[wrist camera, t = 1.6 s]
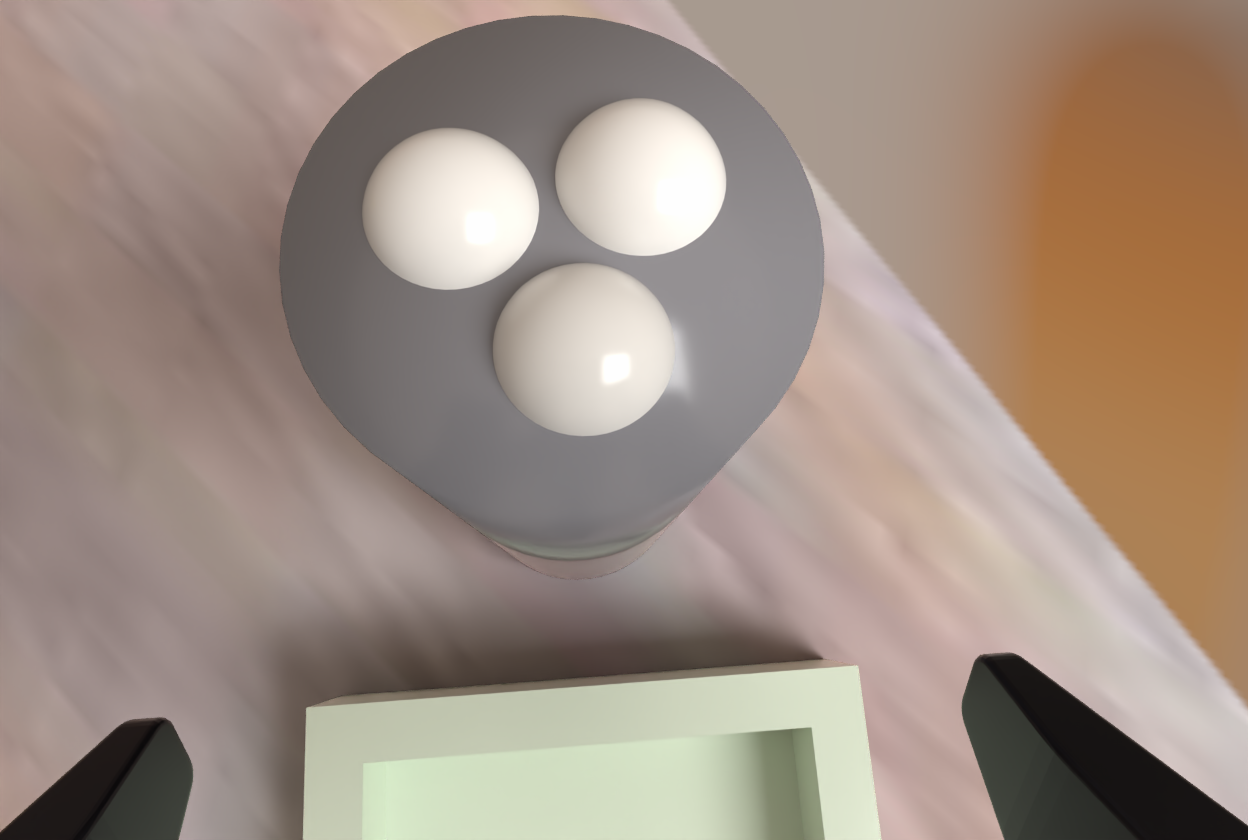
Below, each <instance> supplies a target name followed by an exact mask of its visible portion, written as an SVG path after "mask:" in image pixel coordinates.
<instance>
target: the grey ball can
mask: <svg viewBox="0 0 1248 840" xmlns="http://www.w3.org/2000/svg"><path fill="white" fill-rule="evenodd" d="M279 272H280V282H281V293H282V304H283V308H284V312H285V316H286V320H287V324H288V328H289V332H290V336H291V339H292V341H293V344H294V346H295V349H296V351H297V354H298V356H299V359H300V361H301V363H302V366H303V368H304V370H305V372H306V374H307V375H308V377H309V379H310V380H311V382H312V384H313V385H314V387H315V389H316V391H317V392H318V394H319V396H320V397H321V399H322V400H323V401H324V403H325V404H326V405H327V406H328V408H329V409H330V410H331V411H332V413H333V414H334V415H335V416H336V418H337V419H338V420H339V421H340V423H341V424H342V425H343V426H344V428H346V429H347V430H348V431H349V432H350V433H351V434H352V435H353V436H354V437H355V438H356V439H357V440H358V441H359V442H360V443H362V444H363V445H364V446H365V447H366V448H367V449H368V450H369V451H370V452H371V453H373V454H374V455H375V456H377V457H378V458H379V459H381V460H382V461H384V462H385V463H386V464H388V465H389V466H390V467H392V468H393V469H394V470H396V471H397V472H398V473H400V474H401V475H403V476H404V477H405V478H407V479H408V480H409V481H411V482H412V483H413V484H415V485H416V486H418V487H419V488H420V489H422V490H423V491H424V492H426V493H427V494H428V495H430V496H431V497H432V498H434V499H435V500H437V501H438V502H439V503H441V504H442V505H443V506H445V507H446V508H447V509H449V510H450V511H452V512H453V513H454V514H456V515H457V516H458V517H460V518H461V519H462V520H464V521H465V522H467V523H468V524H469V525H471V526H472V527H473V528H475V529H476V530H477V531H479V532H480V533H481V534H483V535H484V536H486V537H487V538H488V539H490V540H491V541H492V542H494V543H495V544H496V545H498V546H499V547H501V548H502V549H503V550H505V551H506V552H507V553H509V554H510V555H511V556H513V557H514V558H516V559H517V560H518V561H520V562H521V563H523V564H524V565H526V566H528V567H529V568H531V569H533V570H535V571H537V572H540V573H543V574H546V575H548V576H552V577H557V578H562V579H573V580H578V579H591V578H596V577H602V576H605V575H608V574H611V573H614V572H616V571H618V570H620V569H622V568H624V567H626V566H628V565H629V564H631V563H632V562H634V561H635V560H637V559H638V558H639V557H640V556H642V555H643V554H644V553H645V552H646V551H647V550H648V549H649V548H650V547H651V546H652V545H653V544H654V542H655V541H656V540H657V539H658V538H659V537H660V536H661V535H662V534H663V533H664V531H665V530H666V529H667V528H668V527H669V526H670V525H671V524H672V523H673V521H674V520H675V519H676V518H677V517H678V516H679V515H680V514H681V513H682V512H683V510H684V509H685V508H686V507H687V506H688V505H689V504H690V503H691V502H692V501H693V499H694V498H695V497H696V496H697V495H698V494H699V493H700V492H701V491H702V489H703V488H704V487H705V486H706V485H707V484H708V483H709V482H710V481H711V480H712V478H713V477H714V476H715V475H716V474H717V473H718V472H719V471H720V470H721V468H722V467H723V466H724V465H725V464H726V463H727V462H728V461H729V460H730V459H731V457H732V456H733V455H734V454H735V453H736V452H737V451H738V450H739V449H740V447H741V446H742V445H743V444H744V443H745V442H746V441H747V440H748V439H749V438H750V436H751V435H752V434H753V433H754V432H755V431H756V430H757V429H758V427H759V426H760V425H761V424H762V423H763V422H764V421H765V419H766V418H767V417H768V416H769V415H770V414H771V413H772V411H773V410H774V409H775V408H776V406H777V405H778V403H779V402H780V400H781V399H782V397H783V396H784V394H785V393H786V391H787V390H788V388H789V387H790V385H791V384H792V382H793V381H794V379H795V377H796V375H797V373H798V371H799V368H800V366H801V364H802V362H803V360H804V358H805V356H806V354H807V351H808V349H809V346H810V343H811V340H812V337H813V333H814V330H815V327H816V324H817V320H818V317H819V311H820V305H821V299H822V292H823V286H824V246H823V239H822V231H821V223H820V218H819V214H818V210H817V207H816V203H815V199H814V196H813V192H812V189H811V186H810V184H809V182H808V179H807V177H806V174H805V172H804V170H803V167H802V165H801V163H800V160H799V159H798V157H797V155H796V153H795V152H794V150H793V148H792V147H791V145H790V143H789V142H788V140H787V138H786V136H785V135H784V133H783V132H782V130H781V129H780V128H779V127H778V125H777V124H776V123H775V121H774V120H773V119H772V118H771V116H770V115H769V114H768V112H767V111H766V110H765V109H764V107H763V106H762V105H761V104H760V103H759V102H758V101H757V100H756V99H755V98H754V97H753V96H752V95H751V94H750V93H749V92H748V91H747V90H746V89H745V88H744V87H743V86H742V85H740V84H739V83H738V82H737V81H735V80H734V79H733V78H731V77H730V76H729V75H728V74H726V73H725V72H724V71H723V70H721V69H720V68H719V67H717V66H716V65H715V64H713V63H711V62H710V61H708V60H706V59H705V58H703V57H701V56H700V55H698V54H696V53H695V52H693V51H691V50H690V49H688V48H686V47H684V46H681V45H679V44H677V43H675V42H673V41H671V40H668V39H666V38H664V37H662V36H660V35H657V34H654V33H651V32H648V31H645V30H642V29H638V28H635V27H632V26H629V25H625V24H620V23H615V22H611V21H606V20H601V19H596V18H585V17H575V16H564V15H562V16H527V17H519V18H511V19H504V20H497V21H493V22H489V23H485V24H481V25H476V26H472V27H468V28H465V29H462V30H459V31H457V32H454V33H451V34H449V35H446V36H443V37H440V38H438V39H435V40H433V41H431V42H429V43H427V44H425V45H423V46H421V47H419V48H417V49H415V50H413V51H411V52H409V53H407V54H406V55H404V56H403V57H401V58H400V59H398V60H397V61H395V62H394V63H392V64H391V65H389V66H387V67H386V68H384V69H383V70H381V71H380V72H379V73H377V74H376V75H375V76H374V77H373V78H372V79H370V80H369V81H368V82H367V83H366V84H365V85H363V86H362V87H361V88H360V89H359V90H357V91H356V92H355V93H354V94H353V95H352V96H351V97H350V98H349V100H348V101H347V102H346V103H345V104H344V105H343V106H342V107H341V108H340V109H339V111H338V112H337V113H336V114H335V115H334V116H333V117H332V118H331V120H330V121H329V123H328V124H327V126H326V127H325V128H324V130H323V131H322V133H321V134H320V136H319V137H318V138H317V140H316V141H315V143H314V144H313V146H312V148H311V150H310V152H309V154H308V156H307V158H306V160H305V162H304V164H303V166H302V167H301V169H300V171H299V173H298V176H297V179H296V182H295V185H294V187H293V190H292V193H291V196H290V199H289V202H288V205H287V210H286V215H285V220H284V225H283V230H282V235H281V248H280V267H279Z"/></svg>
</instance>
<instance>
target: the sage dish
mask: <svg viewBox="0 0 1248 840" xmlns="http://www.w3.org/2000/svg"><path fill="white" fill-rule="evenodd" d="M303 840H881V833H880V826H879V818H878V811H877V804H876V796H875V789H874V781H873V774H872V766H871V759H870V752H869V744H868V737H867V729H866V722H865V714H864V707H863V699H862V692H861V685H860V677H859V670H858V665H853V664H848V663H843V662H838V661H833V660H827V659H819V660H806V661H793V662H779V663H766V664H753V665H740V666H727V667H713V668H700V669H687V670H674V671H661V672H648V673H634V674H621V675H608V676H595V677H582V678H568V679H555V680H542V681H529V682H516V683H502V684H489V685H476V686H463V687H450V688H436V689H423V690H410V691H397V692H384V693H370V694H357V695H344V696H340V697H337V698H334V699H331V700H328V701H325V702H322V703H319V704H316V705H313V706H310V707H307V708H306V738H305V775H304V813H303Z"/></svg>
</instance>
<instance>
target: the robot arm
mask: <svg viewBox="0 0 1248 840" xmlns="http://www.w3.org/2000/svg"><path fill="white" fill-rule="evenodd" d="M962 716H963V720H964V724H965V727H966V730H967V733H968V735H969V738H970V741H971V744H972V747H973V750H974V753H975V756H976V759H977V762H978V765H979V767H980V770H981V773H982V776H983V779H984V782H985V785H986V788H987V791H988V794H989V797H990V799H991V802H992V805H993V808H994V811H995V814H996V817H997V820H998V823H999V826H1000V829H1001V831H1002V834H1003V837H1004V840H1248V825H1246V824H1245V823H1244V822H1242V821H1241V820H1240V819H1238V818H1237V817H1236V816H1234V815H1233V814H1232V813H1230V812H1229V811H1228V810H1226V809H1225V808H1224V807H1222V806H1221V805H1220V804H1218V803H1217V802H1216V801H1214V800H1213V799H1212V798H1210V797H1209V796H1208V795H1206V794H1205V793H1204V792H1202V791H1201V790H1200V789H1198V788H1197V787H1195V786H1194V785H1193V784H1191V783H1190V782H1189V781H1187V780H1186V779H1185V778H1183V777H1182V776H1181V775H1179V774H1178V773H1177V772H1175V771H1174V770H1173V769H1171V768H1170V767H1169V766H1167V765H1166V764H1165V763H1163V762H1162V761H1161V760H1159V759H1158V758H1157V757H1155V756H1154V755H1153V754H1151V753H1150V752H1148V751H1147V750H1146V749H1144V748H1143V747H1142V746H1140V745H1139V744H1138V743H1136V742H1135V741H1134V740H1132V739H1131V738H1130V737H1128V736H1127V735H1126V734H1124V733H1123V732H1122V731H1120V730H1119V729H1118V728H1116V727H1115V726H1114V725H1112V724H1111V723H1110V722H1108V721H1107V720H1106V719H1104V718H1103V717H1101V716H1100V715H1099V714H1097V713H1096V712H1095V711H1093V710H1092V709H1091V708H1089V707H1088V706H1087V705H1085V704H1084V703H1083V702H1081V701H1080V700H1079V699H1077V698H1076V697H1075V696H1073V695H1072V694H1071V693H1069V692H1068V691H1067V690H1065V689H1064V688H1063V687H1061V686H1060V685H1059V684H1057V683H1056V682H1055V681H1053V680H1052V679H1050V678H1049V677H1048V676H1046V675H1045V674H1044V673H1042V672H1041V671H1040V670H1038V669H1037V668H1036V667H1034V666H1033V665H1032V664H1030V663H1029V662H1028V661H1026V660H1025V659H1024V658H1022V657H1021V656H1019V655H1017V654H1014V653H1007V652H1006V653H993V654H983V655H980V656H979V657H978V658H977V659H976V660H975V662H974V664H973V667H972V670H971V674H970V677H969V680H968V683H967V686H966V689H965V693H964V696H963V699H962ZM192 782H193V768H192V763H191V760H190V758H189V756H188V754H187V752H186V750H185V748H184V746H183V744H182V742H181V740H180V738H179V736H178V734H177V732H176V730H175V728H174V726H173V724H172V723H171V721H169V720H167V719H166V718H162V717H158V718H145V719H134V720H129V721H126V722H124V723H123V724H121V725H120V726H118V727H117V728H116V729H115V730H113V731H112V732H111V733H110V734H109V735H108V736H107V737H106V738H105V739H103V740H102V741H101V742H100V743H99V744H98V745H97V746H96V747H95V748H93V749H92V750H91V751H90V752H89V753H88V754H87V755H86V756H84V757H83V758H82V759H81V760H80V761H79V762H78V763H77V764H76V765H74V766H73V767H72V768H71V769H70V770H69V771H68V772H67V773H66V774H64V775H63V776H62V777H61V778H60V779H59V780H58V781H57V782H56V783H54V784H53V785H52V786H51V787H50V788H49V789H48V790H47V791H45V792H44V793H43V794H42V795H41V796H40V797H39V798H38V799H37V800H35V801H34V802H33V803H32V804H31V805H30V806H29V807H28V808H27V809H25V810H24V811H23V812H22V813H21V814H20V815H19V816H18V817H17V818H15V819H14V820H13V821H12V822H11V823H10V824H9V825H8V826H6V827H5V828H4V829H3V830H2V831H1V832H0V840H179V836H180V832H181V828H182V824H183V820H184V816H185V812H186V808H187V804H188V800H189V795H190V791H191V787H192Z"/></svg>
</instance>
